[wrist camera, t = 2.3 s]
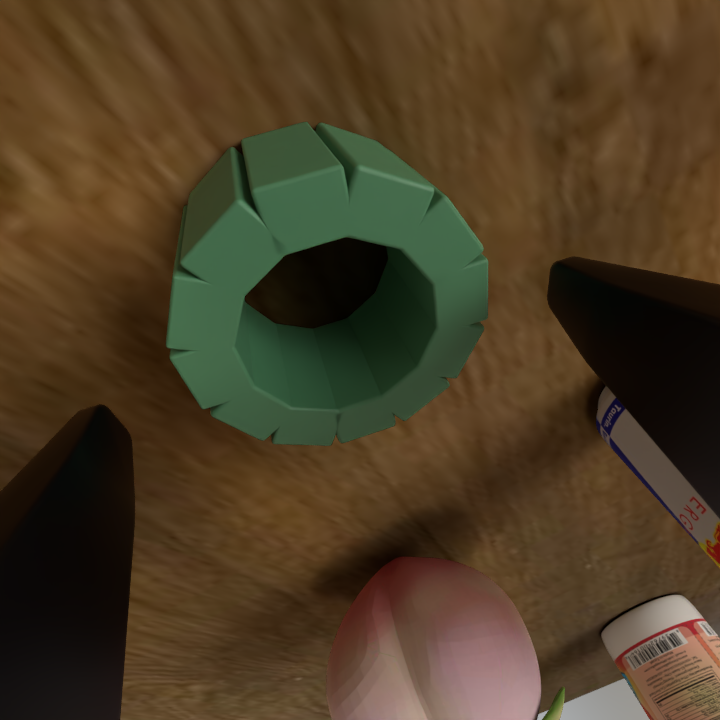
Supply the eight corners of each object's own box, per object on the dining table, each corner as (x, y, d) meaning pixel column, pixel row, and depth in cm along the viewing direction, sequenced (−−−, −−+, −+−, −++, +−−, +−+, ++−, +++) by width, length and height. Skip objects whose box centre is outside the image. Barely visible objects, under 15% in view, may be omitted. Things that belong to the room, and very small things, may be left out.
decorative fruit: (358, 616, 26) (416, 859, 19) (281, 576, 21) (319, 892, 14) (497, 546, 25) (617, 774, 18) (453, 485, 20) (597, 774, 12)
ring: (238, 384, 13) (244, 477, 11) (125, 170, 9) (88, 236, 6) (435, 321, 14) (488, 396, 11) (414, 90, 10) (491, 122, 7)
